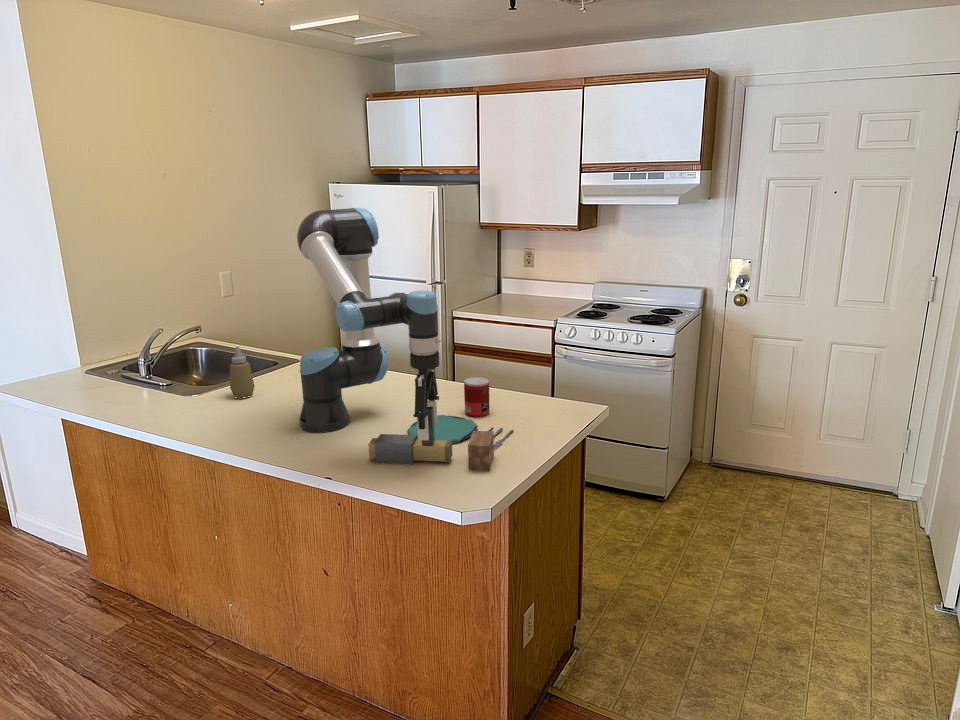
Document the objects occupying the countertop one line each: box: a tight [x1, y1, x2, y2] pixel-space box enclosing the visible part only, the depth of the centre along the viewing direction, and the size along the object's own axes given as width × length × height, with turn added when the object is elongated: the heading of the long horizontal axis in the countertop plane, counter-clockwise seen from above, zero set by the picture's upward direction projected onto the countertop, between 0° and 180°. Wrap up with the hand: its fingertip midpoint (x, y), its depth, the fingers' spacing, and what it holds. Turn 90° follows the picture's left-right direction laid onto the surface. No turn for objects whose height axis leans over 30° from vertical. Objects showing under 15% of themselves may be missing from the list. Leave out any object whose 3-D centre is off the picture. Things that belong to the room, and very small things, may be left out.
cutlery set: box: [406, 414, 514, 452], centre depth 201 cm, size 20×30×2 cm, turn 65°
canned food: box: [463, 377, 490, 418], centre depth 217 cm, size 8×8×11 cm
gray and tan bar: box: [367, 407, 453, 463], centre depth 183 cm, size 22×4×14 cm, turn 82°
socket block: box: [467, 430, 495, 472], centre depth 182 cm, size 6×10×7 cm, turn 172°
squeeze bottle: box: [229, 346, 255, 399], centre depth 237 cm, size 8×8×18 cm
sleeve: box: [374, 433, 417, 466], centre depth 185 cm, size 10×6×6 cm, turn 82°
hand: (427, 431), depth 182 cm, fingers open, 11 cm apart
